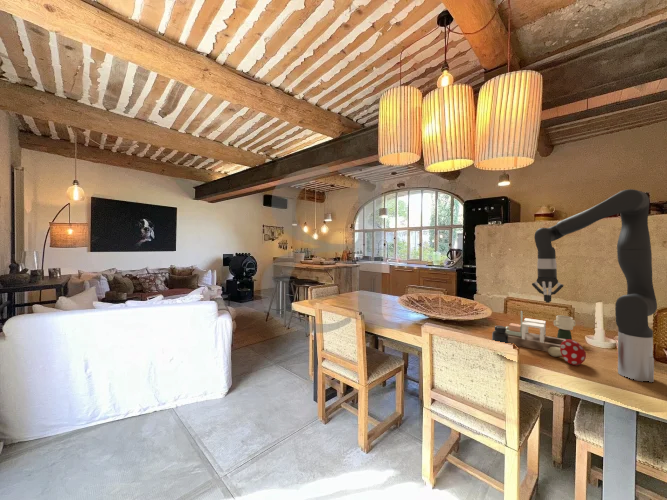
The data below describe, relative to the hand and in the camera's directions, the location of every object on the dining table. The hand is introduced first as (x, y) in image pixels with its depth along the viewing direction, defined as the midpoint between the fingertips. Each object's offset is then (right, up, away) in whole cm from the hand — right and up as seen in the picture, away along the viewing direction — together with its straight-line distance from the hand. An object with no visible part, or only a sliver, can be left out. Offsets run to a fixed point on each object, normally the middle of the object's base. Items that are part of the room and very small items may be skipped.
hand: (547, 302), depth 134 cm
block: (-7, -20, +14) cm, 25 cm away
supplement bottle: (-23, -25, +2) cm, 34 cm away
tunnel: (0, -20, +9) cm, 22 cm away
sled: (-7, -20, +15) cm, 26 cm away
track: (0, -24, +9) cm, 26 cm away
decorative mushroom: (0, -25, -11) cm, 27 cm away
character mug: (+21, -24, +15) cm, 35 cm away
